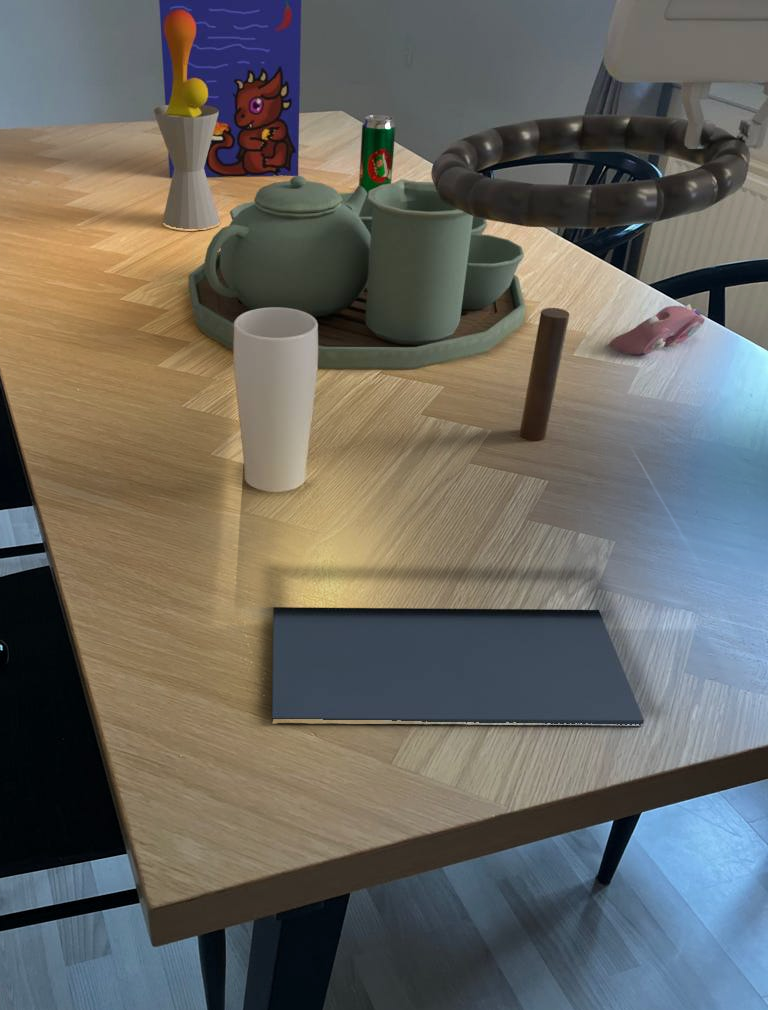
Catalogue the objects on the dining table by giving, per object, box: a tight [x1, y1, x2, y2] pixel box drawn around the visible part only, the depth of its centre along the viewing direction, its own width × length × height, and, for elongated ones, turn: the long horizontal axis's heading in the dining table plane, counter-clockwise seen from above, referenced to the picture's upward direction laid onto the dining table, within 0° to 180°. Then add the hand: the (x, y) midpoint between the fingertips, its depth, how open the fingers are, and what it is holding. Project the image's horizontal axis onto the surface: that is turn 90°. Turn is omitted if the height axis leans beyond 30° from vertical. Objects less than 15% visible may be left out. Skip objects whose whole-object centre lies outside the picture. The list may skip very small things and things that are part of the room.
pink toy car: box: [608, 303, 706, 356], centre depth 108 cm, size 10×5×7 cm, turn 126°
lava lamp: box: [153, 9, 221, 229], centre depth 134 cm, size 9×9×35 cm
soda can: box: [358, 114, 396, 193], centre depth 151 cm, size 5×5×12 cm
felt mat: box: [271, 606, 645, 725], centre depth 69 cm, size 24×15×1 cm, turn 90°
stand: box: [518, 307, 570, 443], centre depth 88 cm, size 8×8×13 cm
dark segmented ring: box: [430, 114, 751, 230], centre depth 77 cm, size 24×24×3 cm
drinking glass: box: [232, 307, 319, 493], centre depth 81 cm, size 7×7×15 cm
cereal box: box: [158, 0, 302, 179], centre depth 158 cm, size 22×6×30 cm, turn 96°
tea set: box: [187, 175, 526, 371], centre depth 113 cm, size 40×40×16 cm
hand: (721, 147), depth 76 cm, fingers closed on dark segmented ring, 3 cm apart
